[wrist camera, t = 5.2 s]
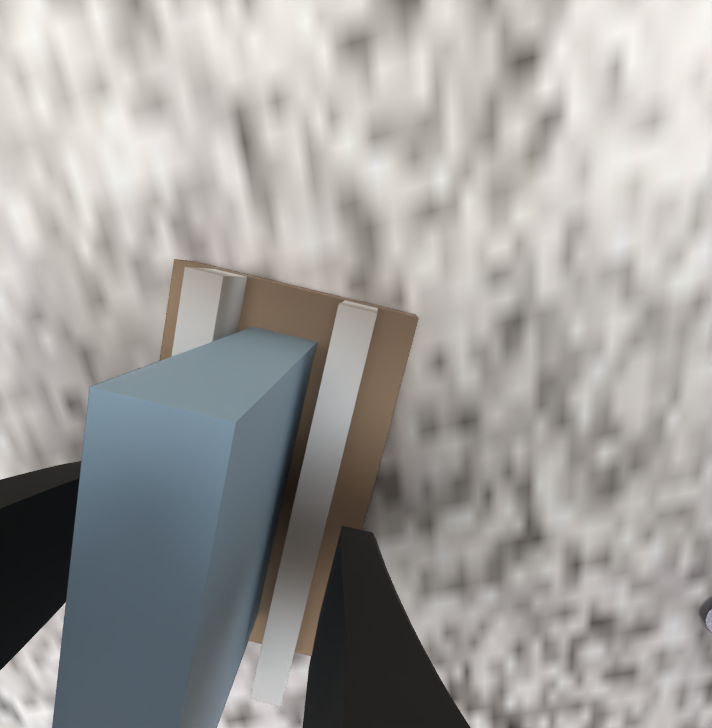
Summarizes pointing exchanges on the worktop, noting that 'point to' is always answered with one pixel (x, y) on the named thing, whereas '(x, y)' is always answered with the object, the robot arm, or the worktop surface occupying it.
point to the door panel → (177, 530)
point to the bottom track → (304, 432)
